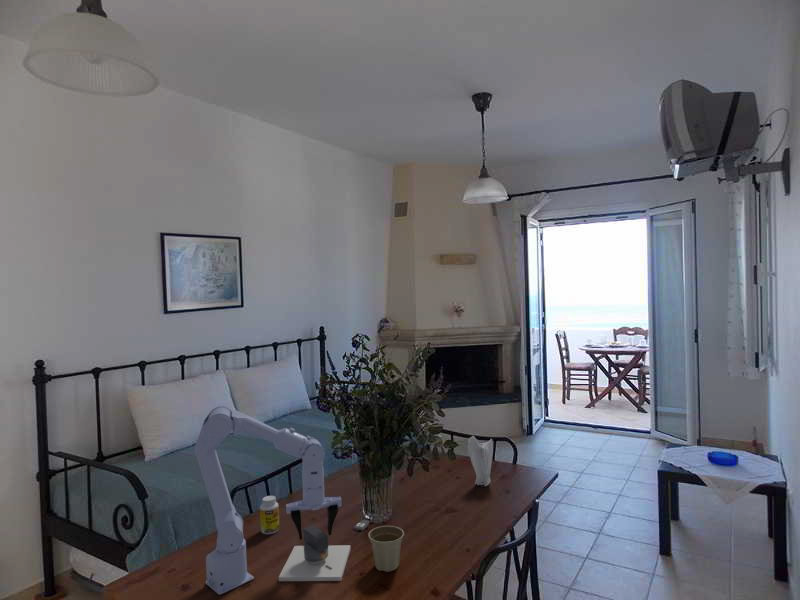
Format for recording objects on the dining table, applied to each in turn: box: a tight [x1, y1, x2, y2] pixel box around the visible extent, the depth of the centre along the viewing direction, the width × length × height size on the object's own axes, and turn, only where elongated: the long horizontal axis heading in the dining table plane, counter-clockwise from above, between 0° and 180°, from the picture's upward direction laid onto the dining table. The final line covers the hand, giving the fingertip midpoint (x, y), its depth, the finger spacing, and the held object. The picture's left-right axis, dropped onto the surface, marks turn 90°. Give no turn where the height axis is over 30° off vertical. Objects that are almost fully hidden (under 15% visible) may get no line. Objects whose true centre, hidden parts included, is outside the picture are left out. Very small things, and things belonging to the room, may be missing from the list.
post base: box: [278, 544, 352, 582], centre depth 138 cm, size 16×16×2 cm
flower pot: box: [367, 525, 405, 573], centre depth 135 cm, size 9×9×9 cm
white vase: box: [467, 435, 494, 487], centre depth 189 cm, size 8×8×18 cm
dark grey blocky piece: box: [302, 524, 329, 562], centre depth 137 cm, size 8×6×6 cm
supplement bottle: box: [259, 495, 280, 535], centre depth 158 cm, size 6×6×10 cm
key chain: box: [353, 519, 370, 532], centre depth 162 cm, size 13×4×2 cm, turn 158°
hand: (315, 535), depth 137 cm, fingers open, 7 cm apart
